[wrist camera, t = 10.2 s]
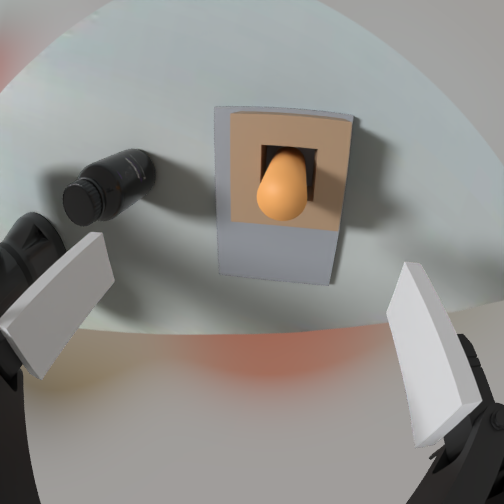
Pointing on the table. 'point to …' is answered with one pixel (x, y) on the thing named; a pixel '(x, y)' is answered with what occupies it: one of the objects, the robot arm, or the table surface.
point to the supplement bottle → (109, 187)
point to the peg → (284, 185)
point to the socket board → (268, 238)
